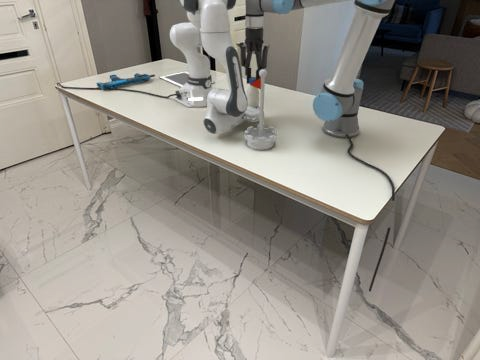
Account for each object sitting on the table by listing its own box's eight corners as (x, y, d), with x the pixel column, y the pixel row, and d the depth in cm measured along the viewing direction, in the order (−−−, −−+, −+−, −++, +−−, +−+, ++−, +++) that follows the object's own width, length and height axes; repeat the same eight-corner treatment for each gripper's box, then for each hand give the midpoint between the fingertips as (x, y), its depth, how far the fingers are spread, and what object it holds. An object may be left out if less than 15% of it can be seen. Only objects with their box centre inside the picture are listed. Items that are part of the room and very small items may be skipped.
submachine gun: (140, 68, 226) (159, 74, 209) (142, 73, 228) (160, 80, 211) (89, 77, 207) (104, 85, 190) (90, 84, 209) (106, 92, 192)
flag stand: (268, 134, 146) (271, 63, 130) (281, 147, 136) (287, 72, 120) (240, 139, 142) (239, 66, 126) (252, 153, 132) (253, 76, 116)
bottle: (244, 118, 162) (244, 79, 152) (254, 115, 164) (255, 77, 154) (250, 122, 158) (251, 82, 148) (260, 119, 160) (261, 80, 150)
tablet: (159, 77, 217) (158, 76, 217) (185, 71, 228) (185, 71, 228) (186, 89, 197) (186, 89, 197) (214, 82, 208) (214, 82, 208)
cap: (247, 82, 153) (247, 77, 152) (256, 81, 154) (256, 76, 153) (249, 85, 150) (250, 79, 148) (258, 84, 150) (259, 79, 149)
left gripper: (253, 114, 142) (272, 105, 151) (217, 103, 153) (237, 95, 162) (252, 128, 146) (271, 118, 154) (218, 116, 157) (237, 107, 166)
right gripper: (277, 27, 138) (274, 84, 151) (241, 24, 145) (241, 78, 158) (268, 30, 133) (266, 89, 145) (232, 26, 140) (232, 82, 153)
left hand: (253, 106), depth 158 cm, fingers closed on bottle, 5 cm apart
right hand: (253, 83), depth 152 cm, fingers closed on cap, 4 cm apart
